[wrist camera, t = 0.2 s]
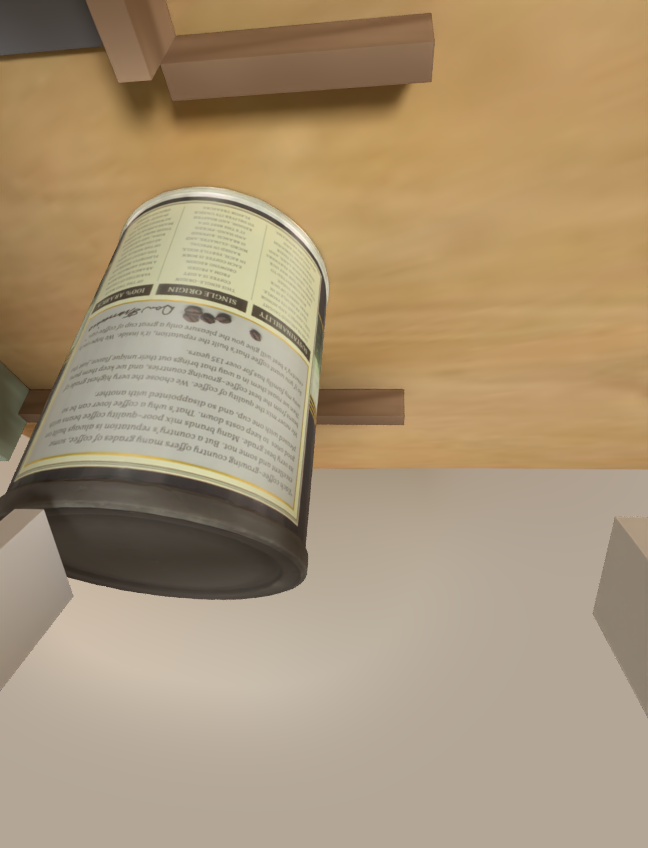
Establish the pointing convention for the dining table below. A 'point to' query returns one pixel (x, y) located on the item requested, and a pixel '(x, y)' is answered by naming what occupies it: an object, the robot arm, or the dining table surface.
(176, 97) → the wooden tray
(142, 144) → the dining table surface
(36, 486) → the coffee can
